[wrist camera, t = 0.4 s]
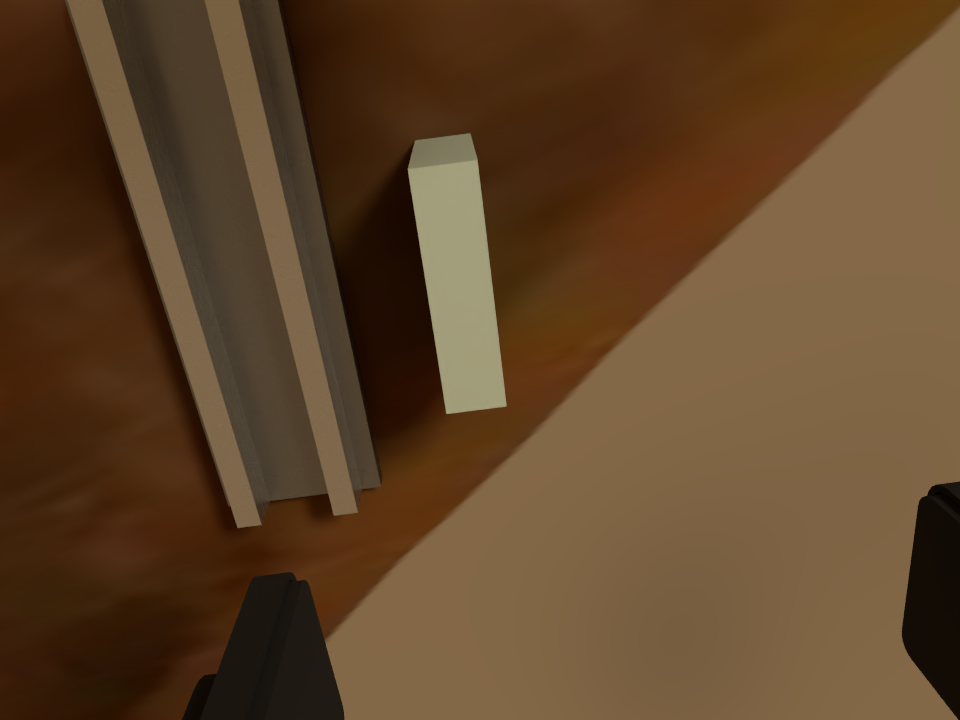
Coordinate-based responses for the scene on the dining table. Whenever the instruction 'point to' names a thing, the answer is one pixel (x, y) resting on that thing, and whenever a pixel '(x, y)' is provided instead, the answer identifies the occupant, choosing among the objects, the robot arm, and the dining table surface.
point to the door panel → (457, 271)
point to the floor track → (236, 239)
